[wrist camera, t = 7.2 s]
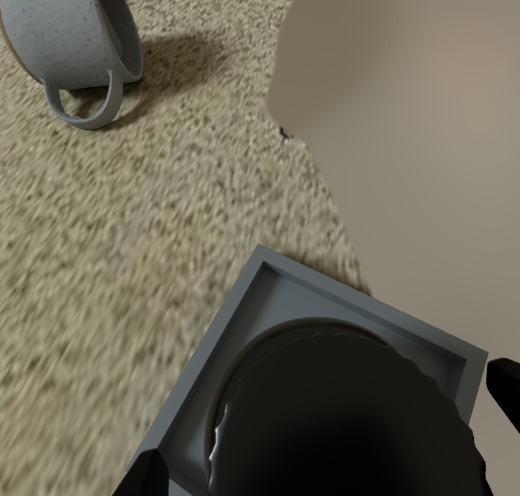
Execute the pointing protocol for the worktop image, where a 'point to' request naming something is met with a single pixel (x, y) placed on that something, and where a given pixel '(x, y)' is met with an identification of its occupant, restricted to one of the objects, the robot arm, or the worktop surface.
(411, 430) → the supplement bottle
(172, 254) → the worktop surface
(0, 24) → the ceramic mug
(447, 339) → the tray
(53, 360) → the worktop surface
